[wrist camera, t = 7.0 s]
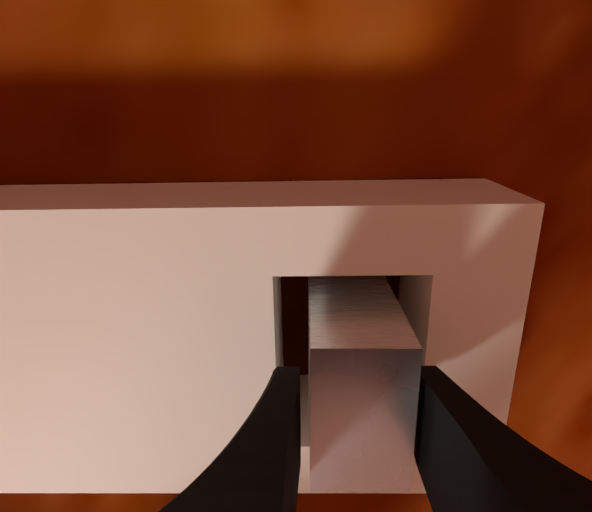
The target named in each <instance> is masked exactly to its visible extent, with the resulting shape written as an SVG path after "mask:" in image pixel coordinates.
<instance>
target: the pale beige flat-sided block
mask: <svg viewBox="0 0 592 512" xmlns="http://www.w3.org/2000/svg"><path fill="white" fill-rule="evenodd" d="M544 207H545V203H543V202H541V201H538V200H536V199H533V198H531V197H529V196H526V195H524V194H521V193H519V192H517V191H514V190H512V189H510V188H507V187H505V186H502V185H500V184H498V183H495V182H493V181H490V180H488V179H486V178H479V179H406V180H333V181H261V182H188V183H116V184H43V185H0V493H181V492H182V491H183V490H184V489H186V488H187V487H188V486H189V485H190V484H191V483H192V482H193V481H194V480H195V479H196V478H197V477H198V476H199V475H200V474H201V473H202V472H203V471H204V470H205V469H206V468H207V467H208V466H209V465H210V464H211V463H212V462H213V460H214V459H215V458H216V457H217V456H218V455H219V454H220V453H221V451H222V450H223V449H224V448H225V447H226V446H227V444H228V443H229V442H230V441H231V439H232V438H233V437H234V435H235V434H236V433H237V431H238V430H239V429H240V427H241V426H242V424H243V423H244V422H245V420H246V419H247V418H248V416H249V415H250V413H251V412H252V410H253V408H254V407H255V405H256V403H257V402H258V400H259V399H260V397H261V395H262V393H263V392H264V390H265V388H266V386H267V384H268V382H269V380H270V378H271V376H272V373H273V370H274V369H275V368H276V367H278V366H284V361H283V328H282V294H281V276H379V275H400V280H399V295H398V302H399V304H400V306H401V308H402V310H403V312H404V314H405V316H406V318H407V320H408V322H409V324H410V325H411V327H412V329H413V331H414V333H415V335H416V337H417V339H418V341H419V343H420V345H421V346H422V348H423V351H422V362H421V366H437V367H438V368H439V369H440V370H442V371H443V372H444V373H445V374H446V375H447V376H448V377H449V378H451V379H452V380H453V381H454V382H455V383H456V384H457V385H458V386H460V387H461V388H462V389H463V390H464V391H465V392H466V393H467V394H469V395H470V396H471V397H472V398H473V399H474V400H476V401H477V402H478V403H479V404H480V405H481V406H483V407H484V408H485V409H486V410H487V411H489V412H490V413H491V414H492V415H494V416H495V417H496V418H497V419H499V420H500V421H501V422H502V423H504V424H505V425H506V423H507V418H508V412H509V406H510V401H511V395H512V389H513V383H514V378H515V372H516V366H517V361H518V355H519V349H520V344H521V338H522V332H523V327H524V321H525V315H526V310H527V304H528V298H529V292H530V287H531V281H532V275H533V270H534V264H535V258H536V253H537V247H538V241H539V236H540V230H541V224H542V218H543V213H544ZM300 409H301V465H300V475H299V485H298V493H426V491H425V488H424V485H423V482H422V479H421V476H420V474H419V471H418V468H417V465H416V462H415V457H414V455H413V467H412V478H411V490H410V492H343V491H310V457H309V393H308V375H300Z"/></svg>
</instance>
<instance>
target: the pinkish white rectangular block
mask: <svg viewBox="0 0 592 512" xmlns="http://www.w3.org/2000/svg"><path fill="white" fill-rule="evenodd" d="M422 351H423V348H422V346H421V345H420V343H419V341H418V339H417V337H416V335H415V333H414V331H413V329H412V327H411V325H410V324H409V322H408V320H407V318H406V316H405V314H404V312H403V310H402V308H401V306H400V304H399V302H398V301H397V299H396V297H395V295H394V293H393V291H392V289H391V287H390V285H389V283H388V281H387V279H386V278H385V276H384V275H379V276H308V393H309V457H310V491H343V492H410V490H411V478H412V467H413V455H414V443H415V432H416V420H417V409H418V397H419V385H420V374H421V362H422Z"/></svg>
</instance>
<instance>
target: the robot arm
mask: <svg viewBox="0 0 592 512" xmlns="http://www.w3.org/2000/svg"><path fill="white" fill-rule="evenodd" d="M414 457H415V462H416V465H417V468H418V471H419V474H420V476H421V479H422V482H423V485H424V488H425V491H426V493H427V496H428V499H429V502H430V504H431V507H432V510H433V512H592V481H591V480H589V479H587V478H585V477H583V476H582V475H580V474H578V473H576V472H575V471H573V470H571V469H570V468H568V467H566V466H565V465H563V464H562V463H560V462H558V461H557V460H555V459H554V458H552V457H551V456H549V455H548V454H546V453H545V452H543V451H541V450H540V449H538V448H537V447H535V446H534V445H532V444H531V443H530V442H528V441H527V440H525V439H524V438H522V437H521V436H520V435H518V434H517V433H516V432H514V431H513V430H512V429H510V428H509V427H508V426H506V425H505V424H504V423H502V422H501V421H500V420H499V419H497V418H496V417H495V416H494V415H492V414H491V413H490V412H489V411H487V410H486V409H485V408H484V407H483V406H481V405H480V404H479V403H478V402H477V401H476V400H474V399H473V398H472V397H471V396H470V395H469V394H467V393H466V392H465V391H464V390H463V389H462V388H461V387H460V386H458V385H457V384H456V383H455V382H454V381H453V380H452V379H451V378H449V377H448V376H447V375H446V374H445V373H444V372H443V371H442V370H440V369H439V368H438V367H437V366H421V374H420V385H419V397H418V409H417V420H416V432H415V443H414ZM300 465H301V409H300V366H278V367H276V368H275V369H274V370H273V373H272V376H271V378H270V380H269V382H268V384H267V386H266V388H265V390H264V392H263V393H262V395H261V397H260V399H259V400H258V402H257V403H256V405H255V407H254V408H253V410H252V412H251V413H250V415H249V416H248V418H247V419H246V420H245V422H244V423H243V424H242V426H241V427H240V429H239V430H238V431H237V433H236V434H235V435H234V437H233V438H232V439H231V441H230V442H229V443H228V444H227V446H226V447H225V448H224V449H223V450H222V451H221V453H220V454H219V455H218V456H217V457H216V458H215V459H214V460H213V462H212V463H211V464H210V465H209V466H208V467H207V468H206V469H205V470H204V471H203V472H202V473H201V474H200V475H199V476H198V477H197V478H196V479H195V480H194V481H193V482H192V483H191V484H190V485H189V486H188V487H187V488H186V489H184V490H183V491H182V492H181V493H180V494H179V495H178V496H176V497H175V498H174V499H173V500H172V501H170V502H169V503H168V504H167V505H166V506H164V507H163V508H162V509H161V510H160V511H158V512H296V504H297V495H298V485H299V475H300Z"/></svg>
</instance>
